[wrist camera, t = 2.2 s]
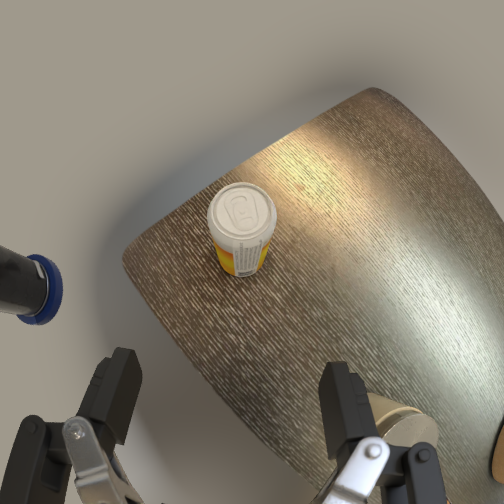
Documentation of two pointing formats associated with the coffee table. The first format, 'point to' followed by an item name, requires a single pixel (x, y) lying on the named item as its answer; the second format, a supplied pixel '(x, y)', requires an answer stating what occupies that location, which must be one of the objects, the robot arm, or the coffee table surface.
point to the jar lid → (408, 429)
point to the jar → (385, 407)
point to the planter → (499, 458)
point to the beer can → (241, 227)
